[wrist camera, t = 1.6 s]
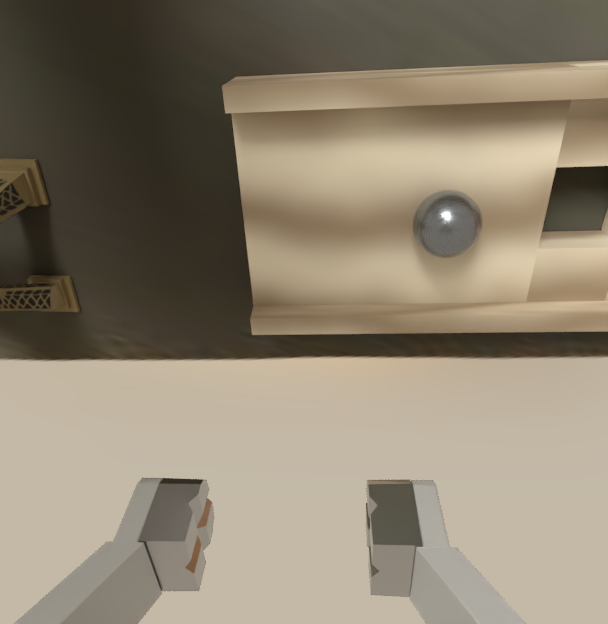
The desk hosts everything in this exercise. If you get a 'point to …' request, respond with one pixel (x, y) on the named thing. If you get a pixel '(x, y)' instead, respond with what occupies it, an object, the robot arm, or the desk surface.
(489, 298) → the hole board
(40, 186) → the eiffel tower
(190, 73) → the desk surface
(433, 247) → the steel ball
